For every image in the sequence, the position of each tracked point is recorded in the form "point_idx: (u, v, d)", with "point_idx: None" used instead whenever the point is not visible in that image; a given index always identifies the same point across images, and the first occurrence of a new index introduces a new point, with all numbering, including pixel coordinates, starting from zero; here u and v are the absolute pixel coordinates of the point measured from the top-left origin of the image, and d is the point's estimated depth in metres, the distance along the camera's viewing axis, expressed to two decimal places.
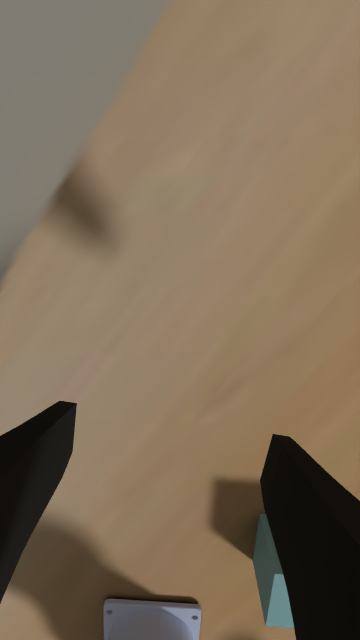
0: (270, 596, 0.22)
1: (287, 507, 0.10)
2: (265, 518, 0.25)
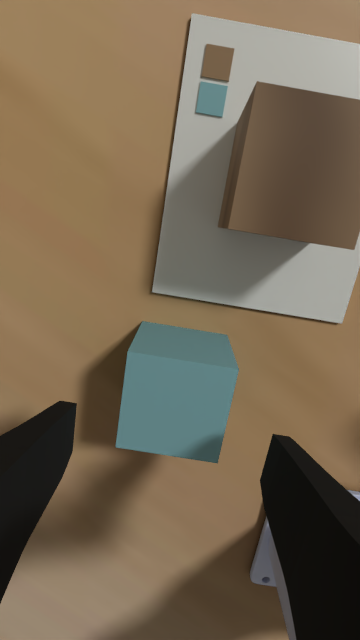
0: (159, 453, 0.15)
1: (287, 507, 0.10)
2: None
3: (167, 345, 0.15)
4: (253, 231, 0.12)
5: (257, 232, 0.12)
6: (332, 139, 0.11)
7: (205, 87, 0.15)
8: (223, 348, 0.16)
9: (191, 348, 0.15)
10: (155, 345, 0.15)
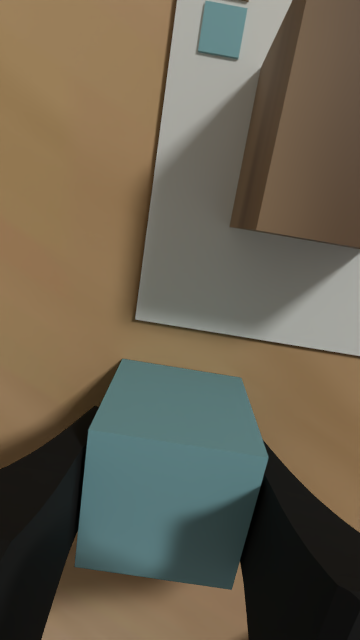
0: (142, 575, 0.10)
1: None
2: None
3: (154, 409, 0.10)
4: (300, 234, 0.07)
5: (307, 236, 0.07)
6: None
7: (213, 10, 0.10)
8: (240, 408, 0.11)
9: (191, 412, 0.10)
10: (135, 411, 0.10)
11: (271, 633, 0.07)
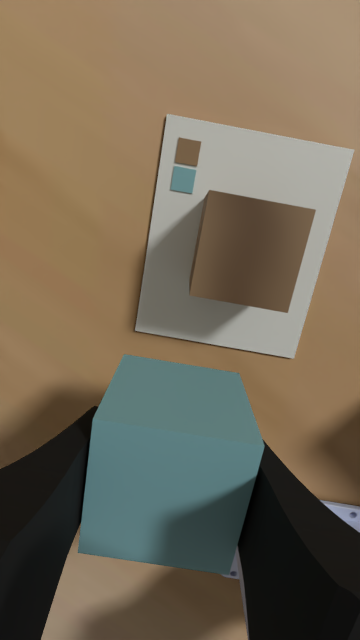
0: (143, 561, 0.10)
1: None
2: None
3: (155, 401, 0.10)
4: (209, 297, 0.16)
5: (212, 298, 0.16)
6: (268, 231, 0.15)
7: (178, 170, 0.18)
8: (237, 401, 0.11)
9: (191, 404, 0.10)
10: (137, 402, 0.10)
11: (271, 633, 0.07)
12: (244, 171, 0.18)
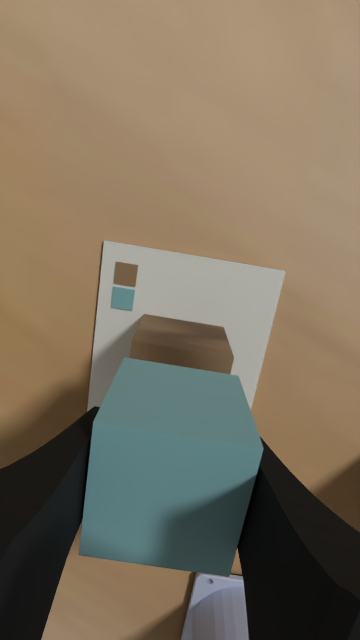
0: (144, 563, 0.10)
1: None
2: None
3: (155, 404, 0.10)
4: None
5: None
6: None
7: (118, 289, 0.19)
8: (237, 404, 0.11)
9: (190, 407, 0.11)
10: (137, 405, 0.10)
11: (271, 633, 0.07)
12: (182, 289, 0.19)
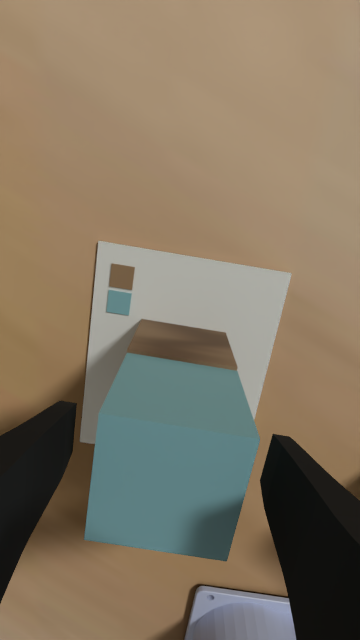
0: (146, 548, 0.11)
1: (287, 507, 0.10)
2: None
3: (157, 397, 0.11)
4: None
5: None
6: None
7: (113, 293, 0.18)
8: (235, 397, 0.12)
9: (191, 400, 0.11)
10: (140, 398, 0.11)
11: None
12: (181, 293, 0.18)
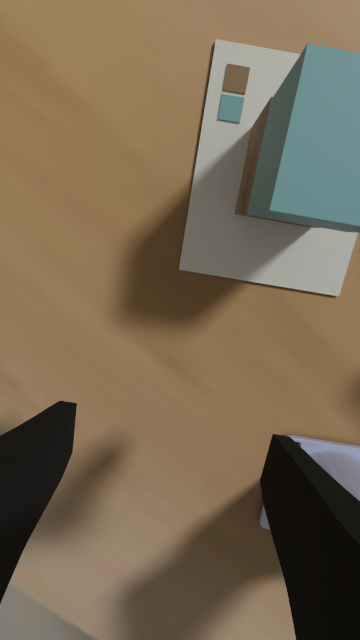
0: (328, 220, 0.11)
1: (287, 507, 0.10)
2: (250, 205, 0.15)
3: None
4: None
5: None
6: None
7: (226, 98, 0.18)
8: None
9: None
10: None
11: None
12: None
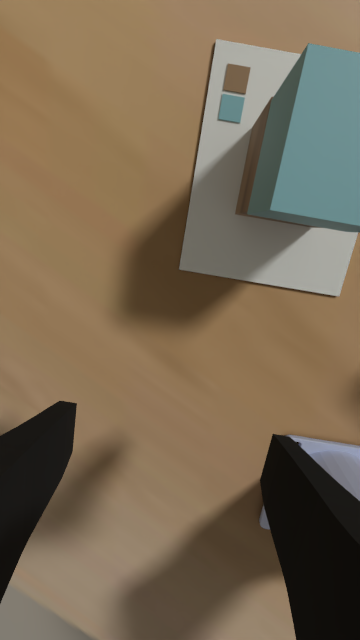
0: (329, 220, 0.11)
1: (287, 507, 0.10)
2: (250, 205, 0.15)
3: None
4: None
5: None
6: None
7: (226, 98, 0.18)
8: None
9: None
10: None
11: None
12: None
